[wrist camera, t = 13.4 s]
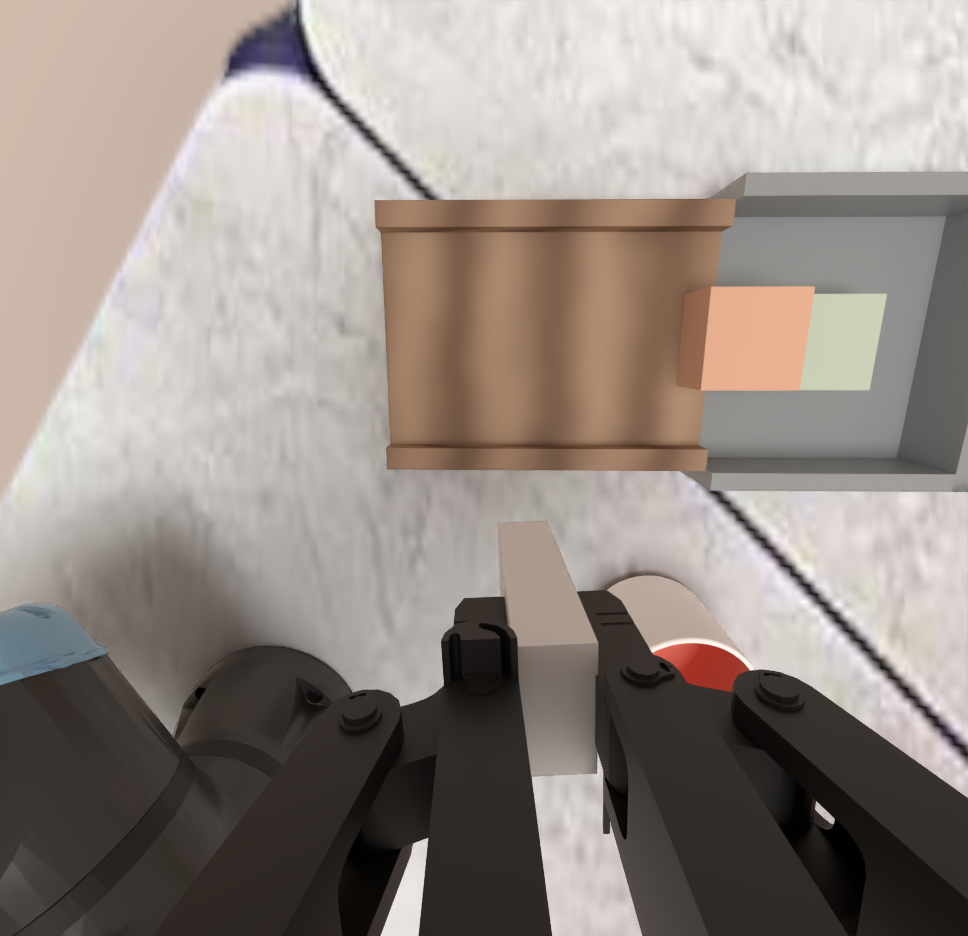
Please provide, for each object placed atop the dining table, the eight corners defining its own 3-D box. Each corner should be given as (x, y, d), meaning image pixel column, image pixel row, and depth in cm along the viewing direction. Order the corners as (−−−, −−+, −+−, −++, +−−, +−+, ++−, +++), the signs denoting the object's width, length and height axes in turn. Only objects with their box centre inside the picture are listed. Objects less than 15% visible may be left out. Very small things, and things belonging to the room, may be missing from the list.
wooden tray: (399, 455, 39) (387, 469, 34) (389, 219, 35) (374, 200, 30) (681, 456, 38) (705, 471, 34) (704, 217, 34) (736, 198, 30)
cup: (599, 558, 40) (632, 625, 31) (716, 582, 41) (786, 655, 31) (569, 662, 43) (591, 755, 33) (680, 684, 43) (735, 782, 33)
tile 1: (746, 385, 36) (777, 390, 32) (757, 300, 35) (790, 293, 31) (828, 385, 36) (869, 390, 32) (842, 299, 35) (887, 293, 31)
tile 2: (676, 385, 34) (700, 390, 30) (684, 294, 33) (711, 286, 29) (764, 385, 34) (799, 390, 30) (776, 293, 32) (815, 286, 29)
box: (680, 470, 38) (710, 490, 33) (706, 200, 34) (746, 172, 29) (903, 471, 38) (969, 491, 33) (960, 199, 34) (1048, 171, 28)
